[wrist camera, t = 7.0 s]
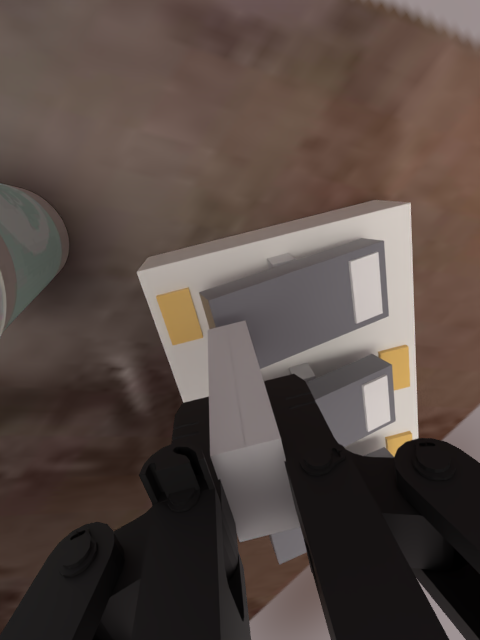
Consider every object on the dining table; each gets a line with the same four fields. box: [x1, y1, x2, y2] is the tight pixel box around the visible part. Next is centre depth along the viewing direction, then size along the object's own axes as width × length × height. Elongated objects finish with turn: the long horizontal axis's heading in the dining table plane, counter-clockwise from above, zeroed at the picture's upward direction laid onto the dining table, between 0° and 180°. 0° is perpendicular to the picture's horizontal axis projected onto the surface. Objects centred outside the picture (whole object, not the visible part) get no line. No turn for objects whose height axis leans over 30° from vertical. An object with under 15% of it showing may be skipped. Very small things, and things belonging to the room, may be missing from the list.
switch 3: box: [269, 447, 394, 564], centre depth 22 cm, size 9×4×2 cm, turn 103°
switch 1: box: [199, 238, 389, 369], centre depth 17 cm, size 9×4×2 cm, turn 103°
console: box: [137, 200, 418, 457], centre depth 23 cm, size 15×20×6 cm
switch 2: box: [307, 354, 396, 447], centre depth 19 cm, size 9×4×2 cm, turn 103°
